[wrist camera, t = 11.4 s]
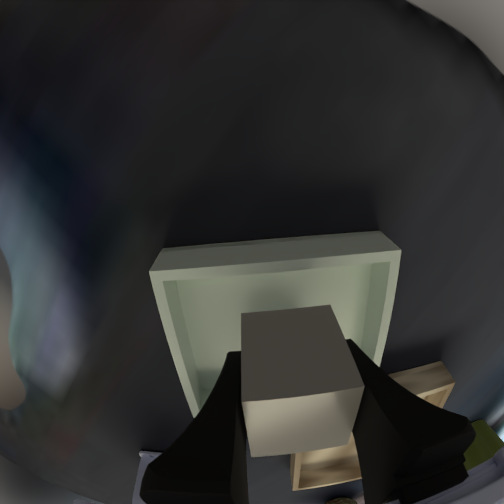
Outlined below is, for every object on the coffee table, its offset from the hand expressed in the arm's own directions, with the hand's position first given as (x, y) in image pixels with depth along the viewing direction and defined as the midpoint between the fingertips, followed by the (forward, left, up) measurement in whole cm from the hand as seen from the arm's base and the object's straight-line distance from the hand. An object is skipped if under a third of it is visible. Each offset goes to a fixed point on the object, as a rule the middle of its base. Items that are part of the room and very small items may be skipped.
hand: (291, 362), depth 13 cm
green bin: (0, -3, -7) cm, 7 cm away
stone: (0, 0, -2) cm, 2 cm away
